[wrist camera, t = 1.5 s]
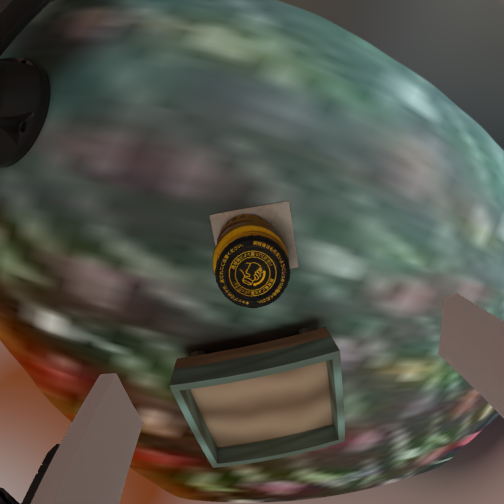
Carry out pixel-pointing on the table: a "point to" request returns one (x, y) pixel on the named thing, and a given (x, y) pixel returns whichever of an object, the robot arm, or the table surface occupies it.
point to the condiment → (254, 253)
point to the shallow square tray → (263, 398)
